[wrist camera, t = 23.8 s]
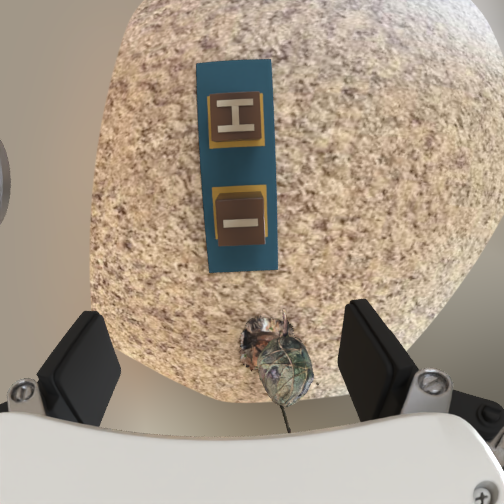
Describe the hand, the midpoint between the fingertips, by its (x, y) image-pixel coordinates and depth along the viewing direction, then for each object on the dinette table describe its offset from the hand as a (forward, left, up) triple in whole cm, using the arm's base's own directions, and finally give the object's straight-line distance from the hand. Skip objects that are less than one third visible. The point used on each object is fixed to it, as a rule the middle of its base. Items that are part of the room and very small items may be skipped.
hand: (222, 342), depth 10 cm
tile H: (+1, +10, -23) cm, 25 cm away
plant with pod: (+3, -17, -23) cm, 29 cm away
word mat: (0, +5, -23) cm, 24 cm away
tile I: (+1, 0, -23) cm, 23 cm away
